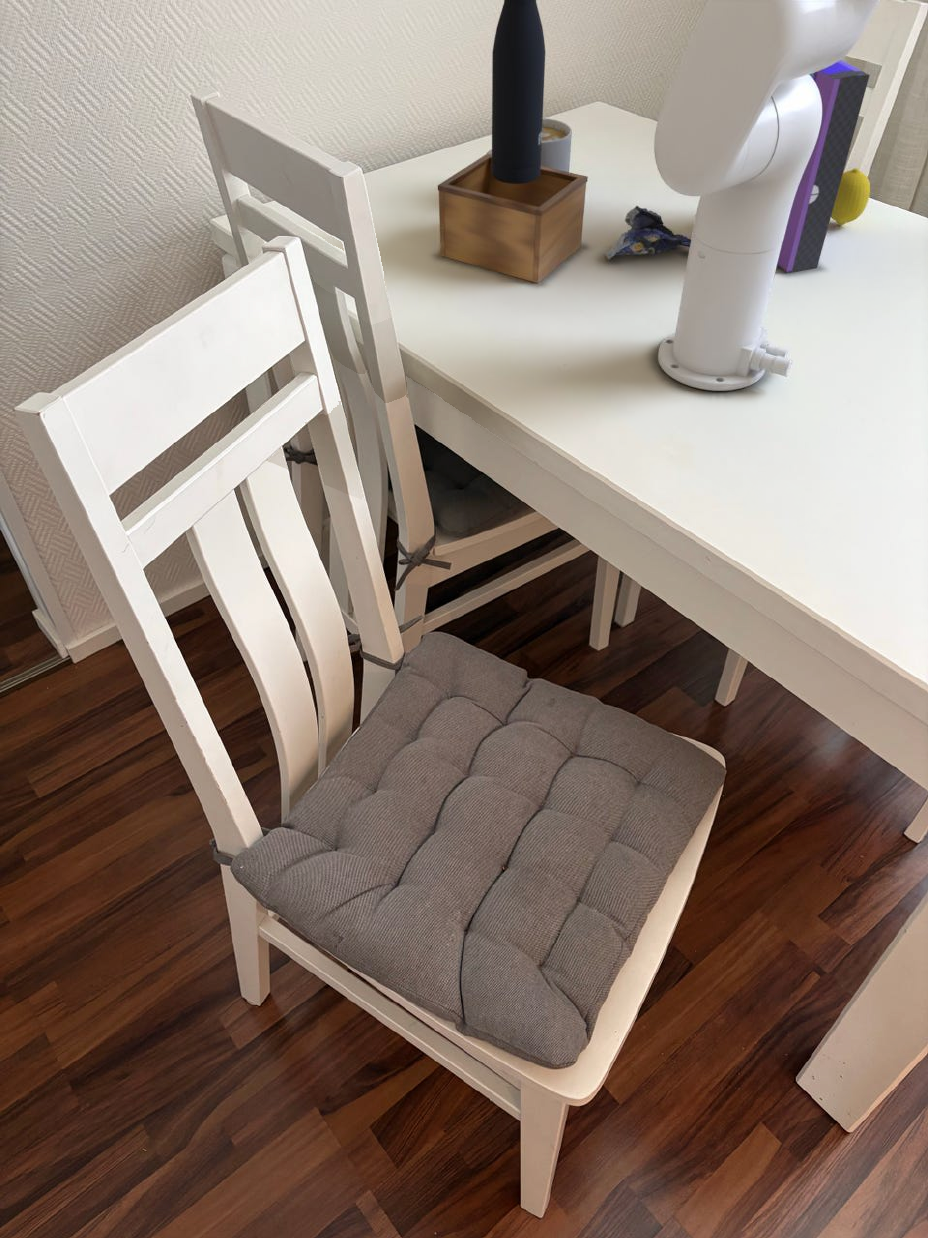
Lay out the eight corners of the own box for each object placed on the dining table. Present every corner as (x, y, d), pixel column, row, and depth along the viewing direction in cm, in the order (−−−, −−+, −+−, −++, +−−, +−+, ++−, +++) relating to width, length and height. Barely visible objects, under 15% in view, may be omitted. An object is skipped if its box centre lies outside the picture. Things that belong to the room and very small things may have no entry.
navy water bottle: (485, 168, 126) (485, -113, 105) (530, 162, 127) (539, -117, 106) (500, 186, 122) (504, -103, 100) (547, 180, 123) (560, -107, 102)
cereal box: (722, 220, 139) (758, 35, 122) (751, 215, 140) (790, 31, 123) (786, 273, 128) (835, 77, 110) (816, 267, 129) (870, 72, 111)
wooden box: (581, 246, 134) (587, 176, 127) (538, 283, 126) (542, 211, 119) (486, 221, 140) (487, 153, 132) (439, 255, 132) (437, 184, 125)
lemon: (867, 229, 137) (885, 172, 131) (836, 236, 135) (852, 178, 130) (844, 214, 140) (860, 158, 134) (812, 220, 139) (827, 164, 133)
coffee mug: (559, 183, 149) (563, 115, 142) (573, 210, 142) (578, 139, 135) (475, 189, 148) (475, 121, 140) (486, 216, 141) (486, 146, 133)
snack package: (595, 233, 137) (605, 269, 128) (607, 188, 132) (618, 222, 124) (674, 246, 138) (689, 282, 130) (689, 202, 134) (705, 236, 126)
